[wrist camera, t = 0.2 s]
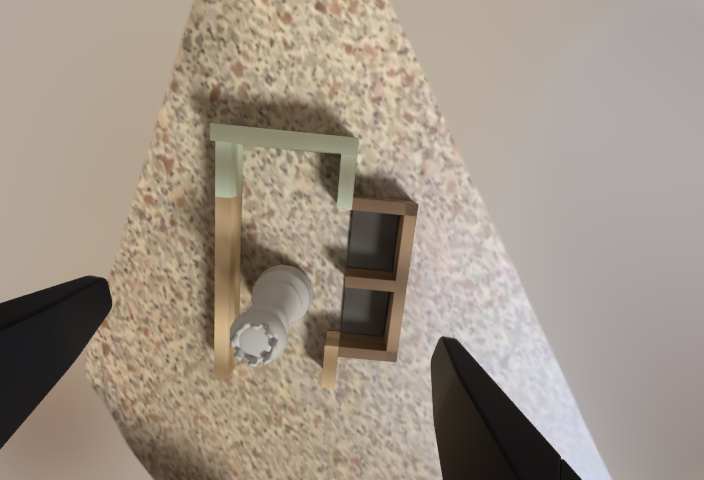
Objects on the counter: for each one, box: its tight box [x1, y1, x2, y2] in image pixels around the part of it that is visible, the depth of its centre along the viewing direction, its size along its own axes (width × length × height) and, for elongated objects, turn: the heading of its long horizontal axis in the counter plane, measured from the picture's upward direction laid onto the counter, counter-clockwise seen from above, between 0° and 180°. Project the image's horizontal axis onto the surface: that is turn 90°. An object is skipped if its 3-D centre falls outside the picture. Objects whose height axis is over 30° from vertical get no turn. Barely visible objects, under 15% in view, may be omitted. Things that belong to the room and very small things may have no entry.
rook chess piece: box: [230, 265, 313, 367], centre depth 21 cm, size 4×4×8 cm
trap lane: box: [210, 123, 418, 389], centre depth 23 cm, size 18×13×3 cm
